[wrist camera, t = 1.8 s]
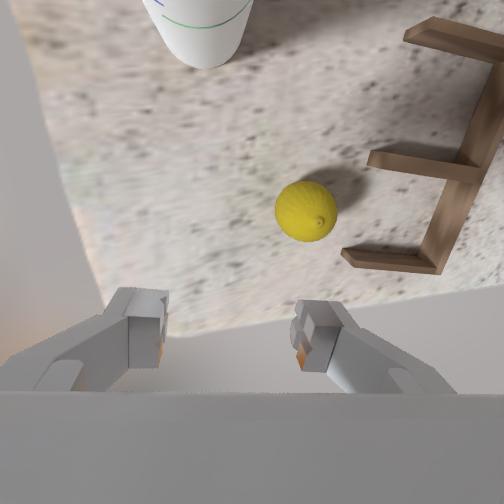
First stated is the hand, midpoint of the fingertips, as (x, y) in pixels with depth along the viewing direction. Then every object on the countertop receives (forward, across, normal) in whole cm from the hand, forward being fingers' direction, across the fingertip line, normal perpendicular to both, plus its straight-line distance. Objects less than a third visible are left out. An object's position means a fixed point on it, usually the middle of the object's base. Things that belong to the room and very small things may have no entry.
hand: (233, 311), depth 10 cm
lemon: (+21, -8, 0) cm, 23 cm away
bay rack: (+21, -22, -6) cm, 31 cm away
